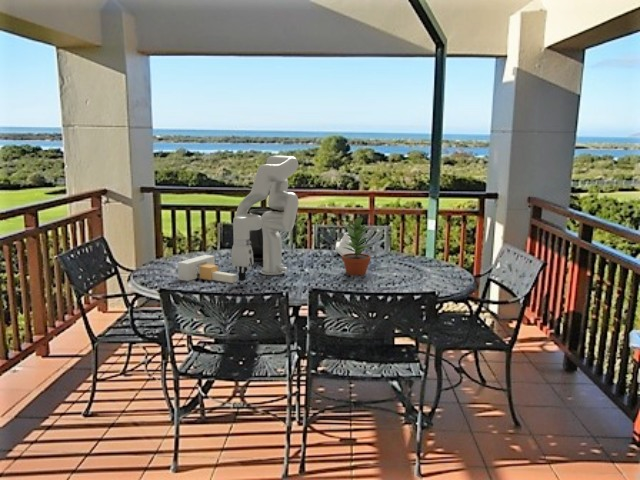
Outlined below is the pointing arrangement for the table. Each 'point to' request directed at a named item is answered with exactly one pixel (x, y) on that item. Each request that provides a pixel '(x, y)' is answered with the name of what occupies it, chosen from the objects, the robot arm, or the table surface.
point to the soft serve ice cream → (344, 245)
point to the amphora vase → (257, 237)
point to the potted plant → (356, 250)
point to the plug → (216, 274)
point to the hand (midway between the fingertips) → (242, 280)
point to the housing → (193, 266)
